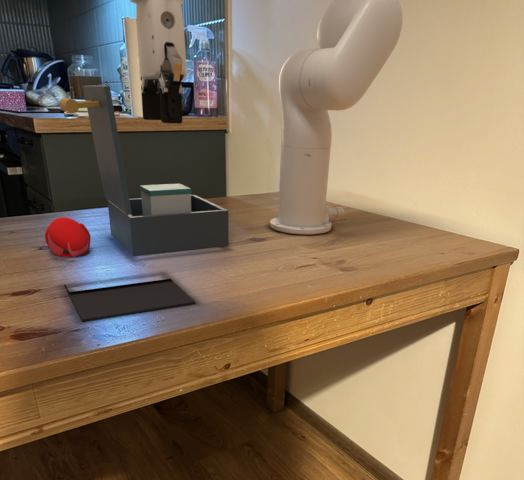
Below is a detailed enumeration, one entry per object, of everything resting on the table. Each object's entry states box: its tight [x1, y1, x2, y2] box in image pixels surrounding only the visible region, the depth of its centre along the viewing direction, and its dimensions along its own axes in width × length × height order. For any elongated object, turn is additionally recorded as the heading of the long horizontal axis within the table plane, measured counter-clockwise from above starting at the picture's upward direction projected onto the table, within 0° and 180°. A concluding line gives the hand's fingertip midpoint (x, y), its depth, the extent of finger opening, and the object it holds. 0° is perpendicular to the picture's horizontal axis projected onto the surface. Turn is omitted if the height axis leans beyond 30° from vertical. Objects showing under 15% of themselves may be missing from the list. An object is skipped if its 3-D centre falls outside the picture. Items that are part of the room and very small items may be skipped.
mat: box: [63, 278, 196, 323], centre depth 66 cm, size 14×13×1 cm
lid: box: [58, 85, 132, 215], centre depth 76 cm, size 17×15×6 cm
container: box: [139, 183, 192, 216], centre depth 86 cm, size 7×6×9 cm
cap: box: [44, 216, 91, 258], centre depth 79 cm, size 8×6×6 cm
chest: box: [106, 194, 229, 257], centre depth 87 cm, size 17×15×7 cm
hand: (161, 121), depth 80 cm, fingers open, 9 cm apart
